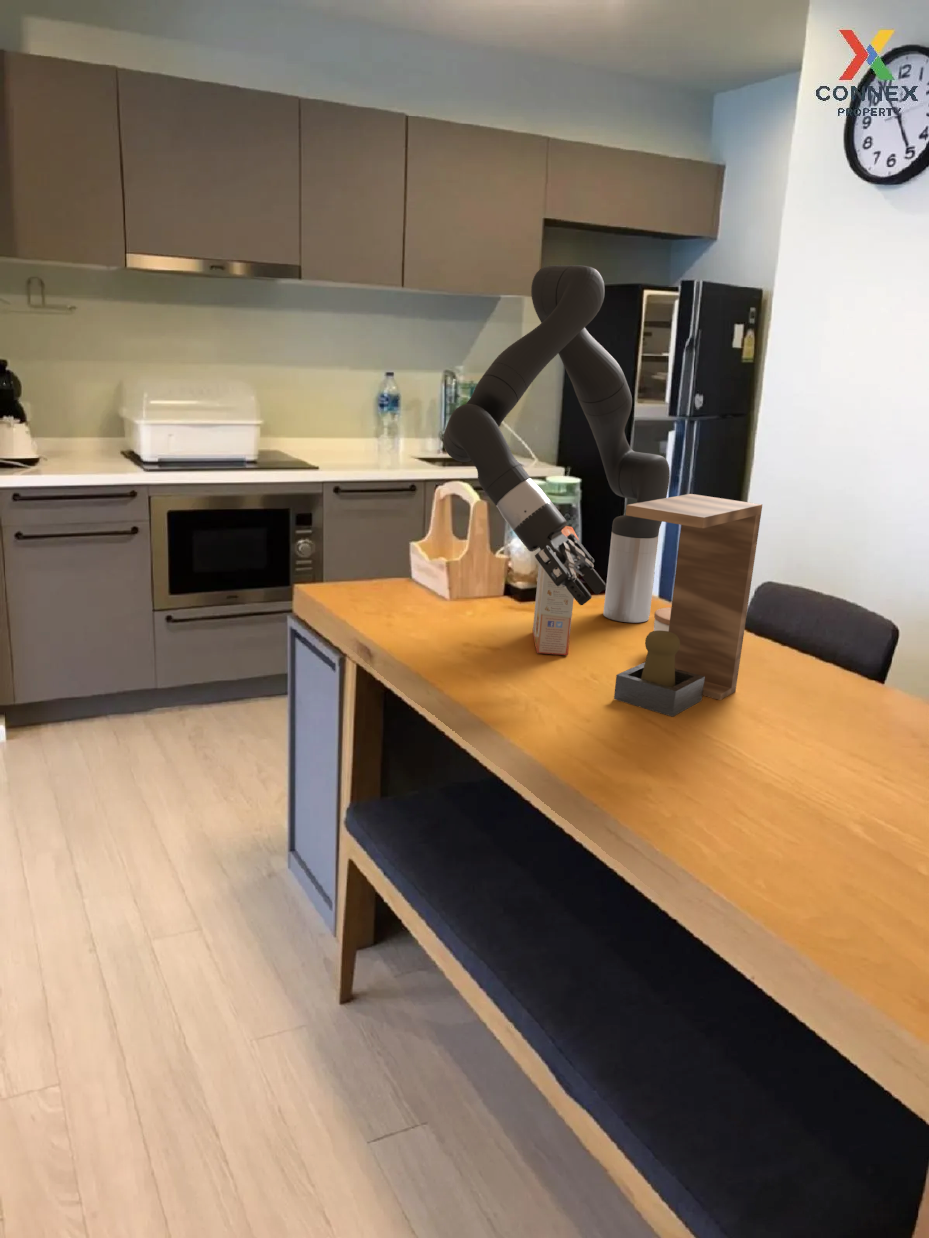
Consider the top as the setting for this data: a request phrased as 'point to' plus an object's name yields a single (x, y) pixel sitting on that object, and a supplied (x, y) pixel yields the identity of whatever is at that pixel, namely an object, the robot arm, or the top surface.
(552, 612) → the cracker box
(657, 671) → the cork
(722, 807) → the top surface
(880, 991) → the top surface
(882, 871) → the top surface
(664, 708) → the socket
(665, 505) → the shelf
